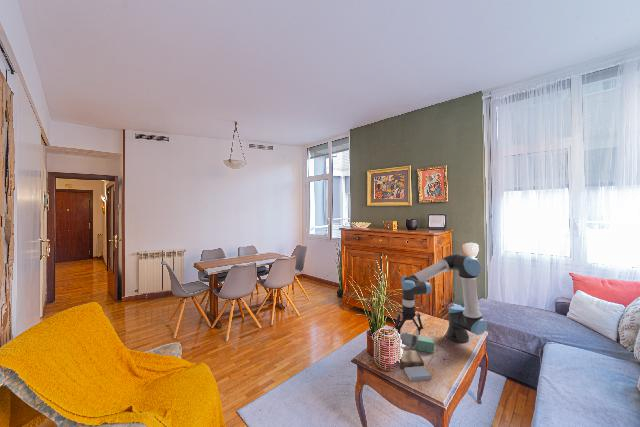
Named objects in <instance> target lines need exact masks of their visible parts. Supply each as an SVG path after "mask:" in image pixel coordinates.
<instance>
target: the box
mask: <svg viewBox="0 0 640 427" xmlns="http://www.w3.org/2000/svg"><path fill="white" fill-rule="evenodd" d="M414 335H415V336H416V334H414ZM434 346H435V344H434V338H433V337H428V336H427V337H426V336H422V335H419V341H417V343H416V346H415V347H414V348H412V350H417V351H420V352H426V353H429V354H430V353H431V354H434V352H435V347H434Z"/></svg>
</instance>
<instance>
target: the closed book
mask: <svg viewBox="0 0 640 427" xmlns="http://www.w3.org/2000/svg"><path fill="white" fill-rule="evenodd" d="M403 370H404V371H405V372H404V374H407V375H406V376H407V377H408V379H409V381H410V382H420V381H427V380H431V379H432V375H431V373H430V372H429V371H428V370H427V369H426V367H425V365H424V366H417V367H406V368H404V369H403Z"/></svg>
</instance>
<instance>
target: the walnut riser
mask: <svg viewBox="0 0 640 427" xmlns="http://www.w3.org/2000/svg"><path fill="white" fill-rule="evenodd" d="M402 350H403V354H402V357H401V359H400V366H399V368H400V369H401V370H404V368H406V367H417V366H424V367H425V362H424V360H423V359H422V357H421V355H420V353H419V352H418V350H414V349H411V350H410V349H407V350H404V349H402Z"/></svg>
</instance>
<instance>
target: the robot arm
mask: <svg viewBox="0 0 640 427" xmlns="http://www.w3.org/2000/svg"><path fill="white" fill-rule="evenodd" d="M450 271H456V272H458V277H459V278H461V286H462V295H463V297H462V298H463V305H464V306H459V305H454V306H453V305H452V306H450V307H449V308H448V327H447V330H446V335H445V336H446V338H447V339H448V340H449V341H452V342H456V343H461V344H463V343H468V342H469V341H470V336H469V333H468V332H470V333H471V334H474V335H475V336H480V335H483V334H485V331H487V328H488V323H487V320H485V319H484V318H483V314H482V312H481V311H480V307H479V298H478V288H477V280H476V279H477V278H478V276H479V275H480V274H481V271H482V264H481V262H480V260H478V259H477V258H475V257H472V256H467V255H462V254H458V253H454V254H449V255H447V256H444V257H442V258H440V259H439V260H438V262H435V263H433V264H432V265H429V266H427V267H426V268H424V269H421V270H419V271H418V272H415V273H414V274H412V275H410V276H409V275H404V276H402V277H401V279H400V284H401V286H402V287H401V288H402V289H401V290H402V291H401V292H402V294H401V296H402V301H401V303H402V311H401V313H400V312H397V314H396V315H397V317H396V321H395V324H394V328H395V330H397V334H398V333H399V334H400V339H401V335H402V327H403V326H404V324H405V322H406V321H412V322H413V323H414V325H415V327H416V328H415V335H416V338H417V341H419V336H421V330H424V327H423V323H422V320H421V314H420V313H419V312H416V308H415V307H416V306H415V305H416V296H420V295H429V294H430V293H432V288H433V287H432V285H431V283H430V282H429V281H428V280H431V279H433V278H434V277H437V275H440V274H443V273H444V272H450ZM401 317H402V318H401ZM415 317H416V318H417V321H416V319H415ZM417 322H418V323H417ZM400 339H399V340H400Z"/></svg>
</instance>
